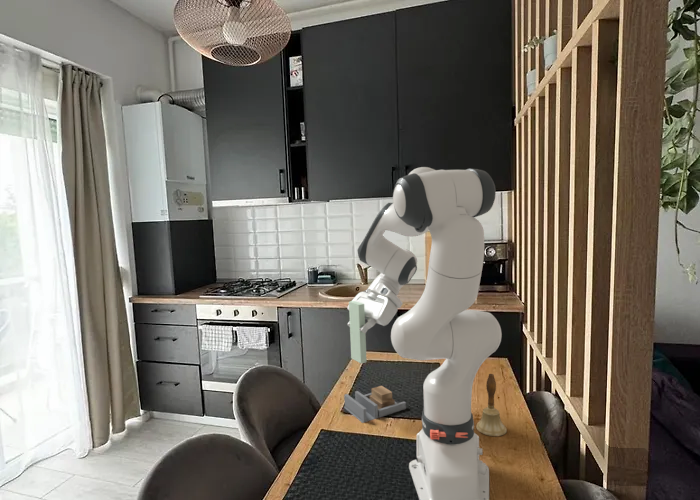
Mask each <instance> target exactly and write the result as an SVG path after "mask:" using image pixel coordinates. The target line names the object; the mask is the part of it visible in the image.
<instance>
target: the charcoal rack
mask: <svg viewBox="0 0 700 500" xmlns="http://www.w3.org/2000/svg"><path fill="white" fill-rule="evenodd" d="M371 395H372V392H369V393H367V394H363V393H361V392H360V391H359V390H356V391H354V396H355V397H354V398H353V397H352V396H350V394H348V393H345V394H344V395H343V398H344V406H343V409H345V410H346V411H347V412H348V413H350V415H352V416H353V417H355V419H357V420H358V421H359V422H360V423H362V424H363V423H367V422H371V421H373V420H377V419H378V418H379V419H380V418H382V417H385V416H388V415H392V414H395V413H398V412H400V411H404V410H406V409H407V403H406V401H400V402H396V401H395V404H394V405H391V406H387V407H384V408H381V409H378V405H377V404H375V403H374V402H373V401H371V400H370V396H371Z"/></svg>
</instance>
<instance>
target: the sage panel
mask: <svg viewBox="0 0 700 500" xmlns="http://www.w3.org/2000/svg"><path fill="white" fill-rule="evenodd" d="M348 305H349V310H348V311H349V312H348V314H349V321H350V327H349V336H350V337H349V339H350V359H352V360H353V361H356V362H358V363H359V364H364V363H367V361H368V360H367V341H366V336H367V335H366V333H362V332H361V331H360V330H359V329H360V328H361V326H362V325H364V324H366V319H365V310H364V304H363V303H360V302H356V301H352V300H351V301H348Z"/></svg>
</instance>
